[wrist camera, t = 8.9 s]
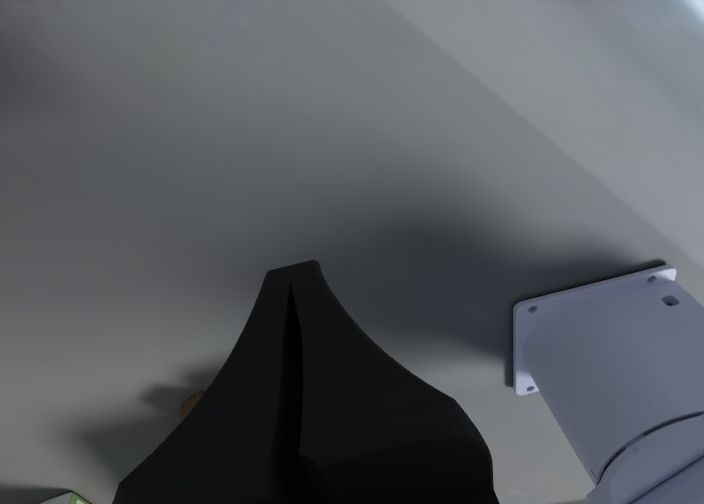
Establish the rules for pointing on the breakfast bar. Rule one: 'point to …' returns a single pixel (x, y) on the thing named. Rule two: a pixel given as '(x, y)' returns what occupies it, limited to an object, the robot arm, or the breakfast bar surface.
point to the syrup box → (66, 499)
